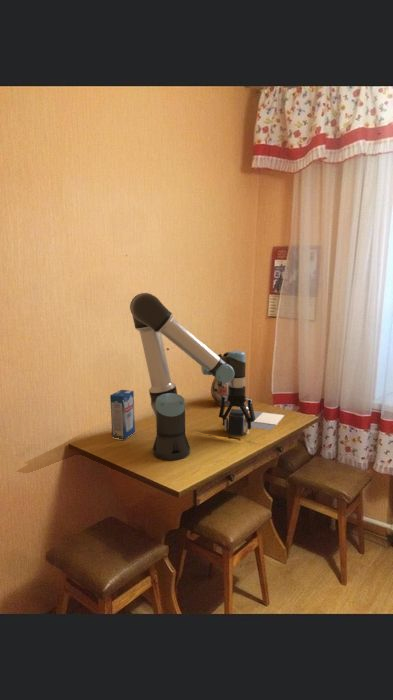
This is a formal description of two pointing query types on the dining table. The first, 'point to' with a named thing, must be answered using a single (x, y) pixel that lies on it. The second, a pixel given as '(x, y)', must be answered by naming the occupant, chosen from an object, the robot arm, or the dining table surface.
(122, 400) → the milk carton
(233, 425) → the small box
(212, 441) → the dining table surface
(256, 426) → the board
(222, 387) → the ceramic jug
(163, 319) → the robot arm
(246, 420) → the bobbin
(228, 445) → the dining table surface
